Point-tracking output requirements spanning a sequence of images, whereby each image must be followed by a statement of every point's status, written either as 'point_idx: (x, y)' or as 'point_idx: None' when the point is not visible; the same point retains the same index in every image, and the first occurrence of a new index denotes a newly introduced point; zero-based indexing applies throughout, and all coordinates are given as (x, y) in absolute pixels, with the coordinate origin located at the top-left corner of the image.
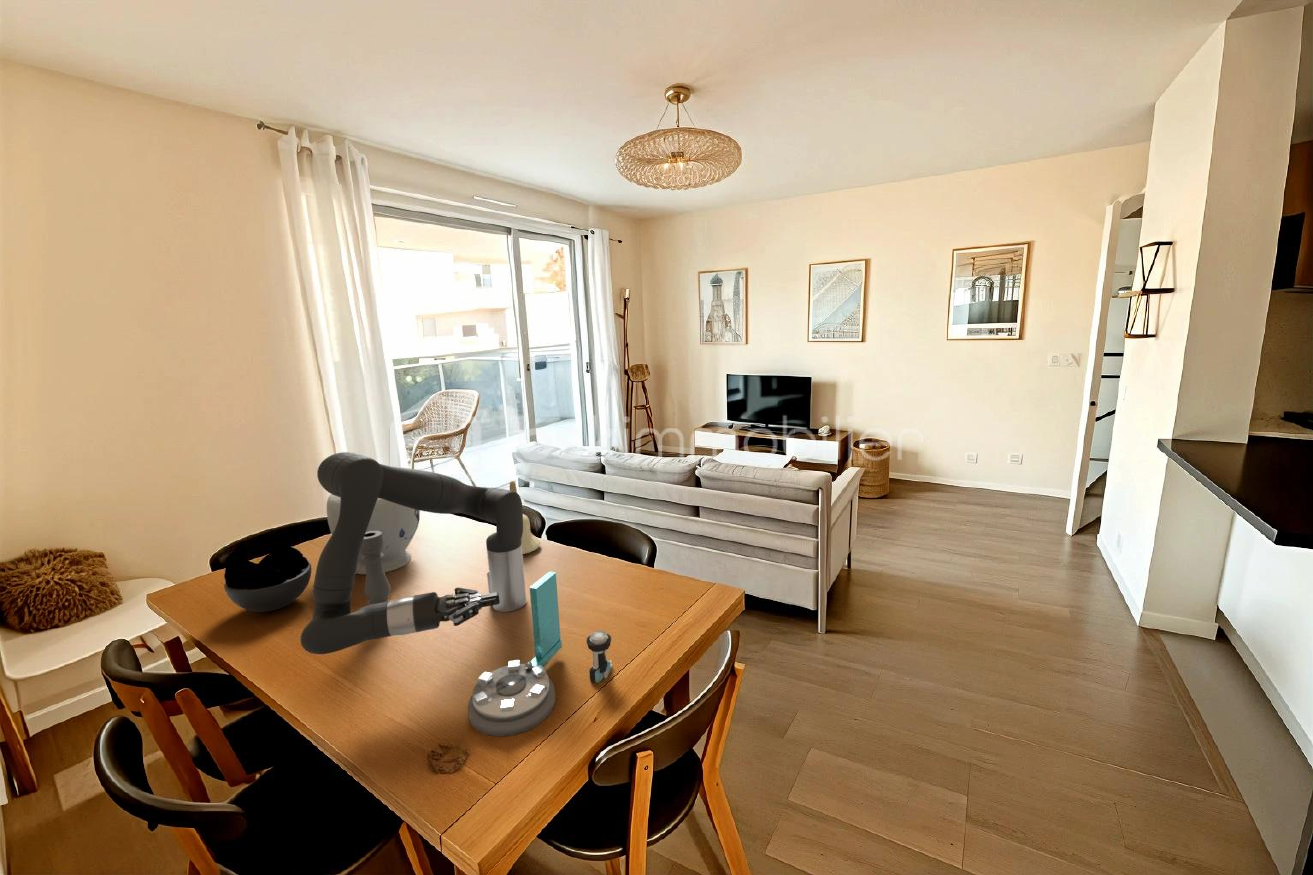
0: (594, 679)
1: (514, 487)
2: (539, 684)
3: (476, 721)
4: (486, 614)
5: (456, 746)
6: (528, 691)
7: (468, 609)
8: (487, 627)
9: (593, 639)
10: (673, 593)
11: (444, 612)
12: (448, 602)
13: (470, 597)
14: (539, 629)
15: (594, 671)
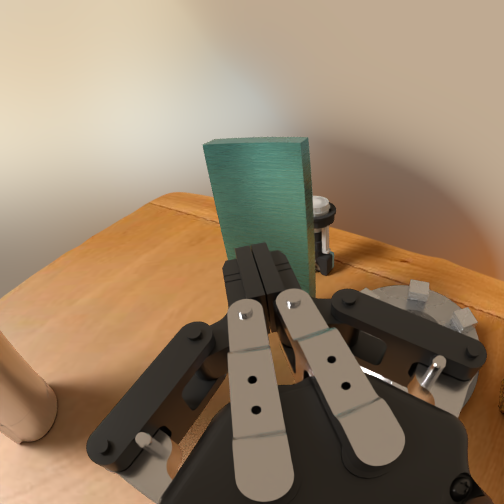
0: (331, 267)
1: None
2: (395, 297)
3: (475, 384)
4: (45, 457)
5: (501, 407)
6: (417, 307)
7: (406, 315)
8: (91, 463)
9: (327, 205)
10: (142, 223)
11: (463, 435)
12: (390, 442)
13: (267, 343)
14: (314, 252)
15: (330, 255)
